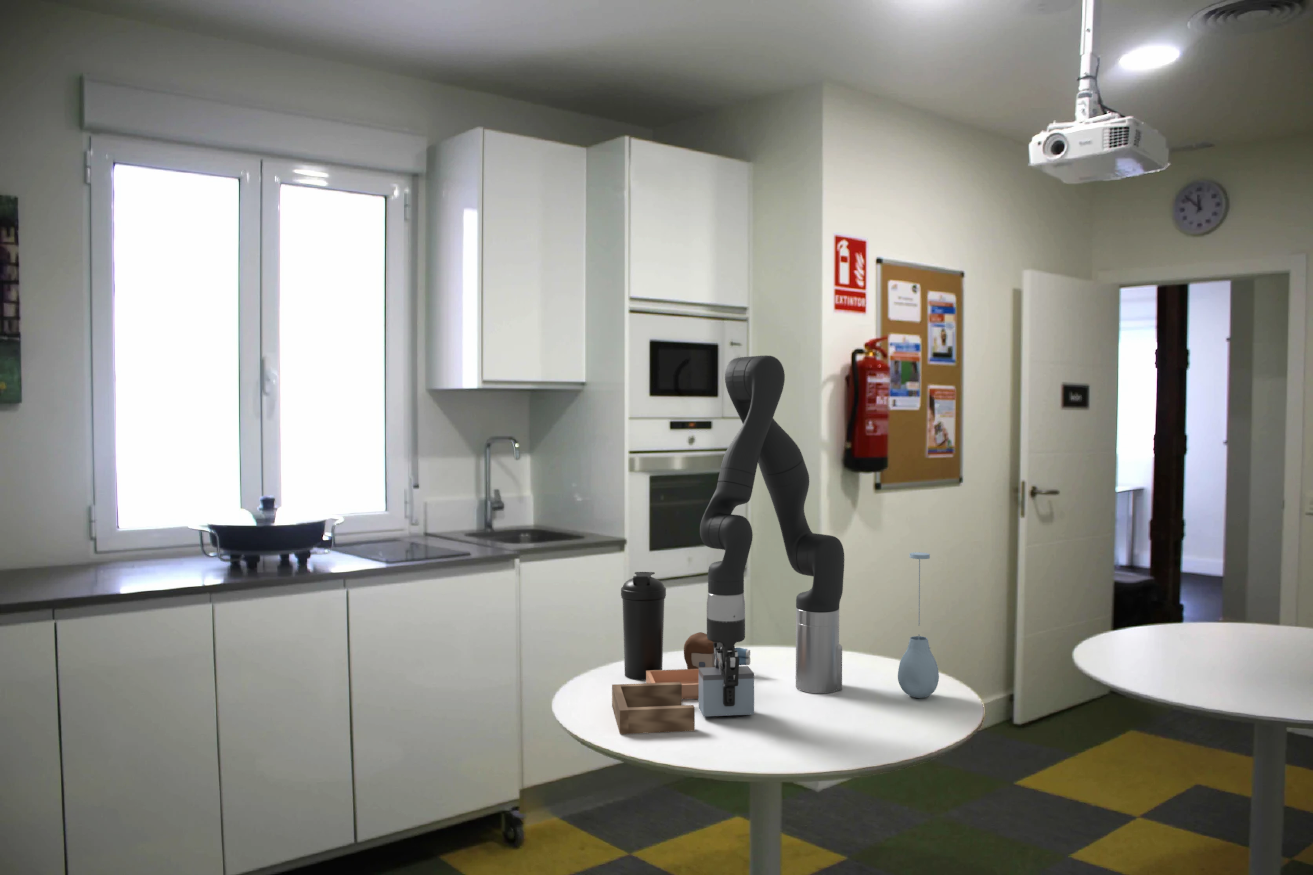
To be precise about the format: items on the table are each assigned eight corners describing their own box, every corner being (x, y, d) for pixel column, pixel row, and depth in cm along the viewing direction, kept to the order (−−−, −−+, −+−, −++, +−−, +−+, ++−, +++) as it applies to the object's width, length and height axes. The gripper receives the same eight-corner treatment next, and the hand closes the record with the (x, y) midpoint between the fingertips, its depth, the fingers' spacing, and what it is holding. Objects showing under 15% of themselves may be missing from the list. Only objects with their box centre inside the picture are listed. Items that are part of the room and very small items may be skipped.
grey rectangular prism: (747, 705, 194) (747, 665, 194) (754, 714, 189) (754, 673, 189) (698, 707, 193) (698, 667, 193) (703, 716, 188) (703, 675, 187)
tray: (720, 681, 215) (720, 667, 215) (731, 697, 203) (731, 683, 203) (646, 684, 212) (646, 670, 212) (652, 700, 200) (652, 685, 200)
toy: (746, 679, 216) (681, 675, 220) (753, 670, 224) (691, 666, 228) (745, 640, 216) (680, 637, 220) (753, 632, 224) (690, 629, 228)
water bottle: (667, 669, 224) (667, 570, 224) (663, 681, 214) (663, 577, 214) (624, 668, 225) (624, 569, 225) (618, 680, 215) (618, 577, 215)
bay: (680, 703, 198) (680, 682, 198) (694, 730, 181) (694, 707, 181) (612, 706, 197) (612, 684, 196) (619, 734, 179) (619, 710, 179)
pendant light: (915, 704, 198) (916, 557, 197) (889, 693, 205) (890, 552, 204) (947, 699, 201) (948, 555, 200) (920, 689, 209) (921, 550, 208)
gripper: (752, 622, 184) (752, 711, 184) (737, 607, 198) (737, 689, 198) (713, 624, 183) (713, 713, 183) (700, 608, 197) (700, 691, 198)
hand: (725, 700), depth 191 cm, fingers closed on grey rectangular prism, 5 cm apart
